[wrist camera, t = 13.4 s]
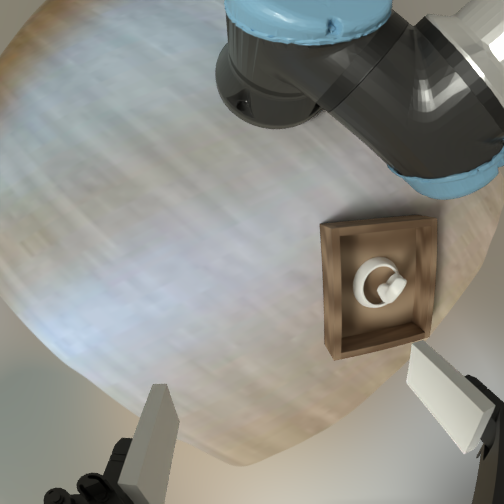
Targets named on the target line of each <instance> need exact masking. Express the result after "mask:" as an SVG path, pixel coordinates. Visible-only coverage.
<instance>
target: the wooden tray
mask: <svg viewBox="0 0 504 504" xmlns="http://www.w3.org/2000/svg"><path fill="white" fill-rule="evenodd" d="M320 236H321V252H322V271H323V295H324V340H325V346H326V347H327V349H328V351H329V353H330V354H331V356H332V358H333V360H334V361H335V360H340V359H345V358H349V357H354V356H358V355H363V354H367V353H371V352H376V351H380V350H384V349H388V348H392V347H395V346H399V345H403V344H406V343H410V342H414V341H417V340H420V339H424V338H427V337H430V330H431V322H432V314H433V305H434V294H435V282H436V265H437V218H433V217H428V216H422V215H409V216H398V217H387V218H376V219H365V220H355V221H344V222H334V223H324V224H320ZM374 257H385V258H388V259H389V260H391V261H392V262H393V263H394V264H395V266H396V267H397V269H398V272H399V275H401V276H402V277H403V278H404V279H406V280H407V283H406V285H405V287H404V289H403V291H402V292H401V293H400V295H399V296H398V297H397V298H396V299H395V300H394V301H393V302H392V303H388V304H387V305H385V306H382V307H378V308H369V307H365V306H363V305H361V304H360V303H359V302H358V301H357V299H356V298H355V295H354V292H353V280H354V277H355V274H356V272H357V270H358V269H359V268H360V266H361V265H362V264H363V263H365V262H366V261H367V260H369V259H371V258H374ZM393 274H395V272H394V271H393V270H392V269H391V268H389V267H386V266H382V267H378V268H376V269H374V270H373V271H371V272H370V273H369V275H368V276H367V278H366V279H365V282H364V287H363V291H364V295H365V298H366V299H367V300H368V301H369V302H370V303H372V304H380V303H382V302H383V301H382V300H381V298H380V296H379V294H378V292H377V289H378V287H379V285H381V284H382V283H386V282H387V280H388V279H389V278H390V277H391V276H392V275H393Z"/></svg>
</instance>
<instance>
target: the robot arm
mask: <svg viewBox="0 0 504 504" xmlns="http://www.w3.org/2000/svg"><path fill="white" fill-rule="evenodd" d="M224 5H225V10H226V21H227V36H228V43H227V44H226V45H225V46H224V48H223V49H222V51H221V52H220V54H219V57H218V60H217V63H216V70H215V76H216V83H217V88H218V92H219V94H220V97H221V98H222V100H223V102H224V103H225V105H226V106H227V107H228V108H229V110H230V111H231V112H232V113H234V114H235V115H236V116H237V117H239V118H240V119H242V120H244V121H245V122H247V123H250V124H252V125H255V126H258V127H262V128H268V129H285V128H290V127H294V126H297V125H299V124H302V123H304V122H305V121H307V120H309V119H310V118H311V117H313V116H314V115H315V114H316V113H317V112H318V111H319V110H320V109H321V108H323V109H325V110H326V111H327V112H328V113H329V114H330V115H331V116H333V117H334V118H335V119H336V120H338V121H339V122H340V123H341V124H343V125H344V126H345V127H346V128H347V129H349V130H350V131H351V132H352V133H353V134H354V135H356V136H357V137H358V138H359V139H360V140H361V141H362V142H364V143H365V144H366V145H367V146H368V147H369V148H370V149H371V150H372V151H374V152H375V153H376V154H377V155H378V156H379V157H380V158H381V159H382V160H383V161H384V162H385V163H386V164H387V166H388V168H389V169H390V170H391V171H392V172H393V173H395V174H396V175H397V176H399V177H401V178H403V179H404V180H405V181H406V182H407V183H408V184H409V185H410V186H411V187H412V188H414V189H415V190H416V191H417V192H419V193H420V194H422V195H425V196H428V197H430V198H434V199H442V200H448V199H455V198H460V197H463V196H466V195H468V194H471V193H473V192H475V191H477V190H479V189H481V188H482V187H484V186H485V185H487V184H488V183H489V182H490V181H492V180H493V179H494V178H495V177H496V176H497V174H498V167H501V166H504V0H471V1H469V2H468V3H467V4H466V5H465V6H464V7H463V8H461V9H460V10H459V11H458V12H457V13H456V14H455V15H452V16H443V15H433V14H427V15H426V16H424V17H423V19H421V20H420V21H419V22H418V23H417V24H416V25H415V26H412V25H411V24H409V23H408V22H407V21H406V20H404V19H403V18H402V17H401V16H400V15H399V14H397V13H396V12H395V11H394V10H393V9H392V0H225V2H224ZM406 383H407V384H408V385H409V387H410V388H411V389H412V390H413V392H414V393H415V394H416V395H417V396H418V398H419V399H420V400H421V401H422V402H423V404H424V405H425V406H426V407H427V409H428V410H429V411H430V412H431V414H432V415H433V416H434V417H435V418H436V420H437V421H438V422H439V423H440V425H441V426H442V427H443V428H444V430H445V431H446V432H447V433H448V435H449V436H450V437H451V438H452V440H453V441H454V442H455V443H456V445H457V446H458V447H459V449H460V450H461V451H462V452H463V454H466V453H468V452H469V451H471V450H473V449H474V448H476V447H477V445H478V443H479V441H480V439H481V440H482V442H483V445H482V447H481V449H480V451H479V453H478V454H477V457H476V458H478V457H479V456H480V454H481V456H480V464H479V470H478V476H477V482H476V487H475V492H474V497H473V502H472V504H504V402H503V401H501V400H500V399H499V398H498V397H497V396H496V395H495V394H494V393H493V392H491V391H490V390H489V389H487V387H486V386H485V385H483V383H481V382H480V381H479V380H478V379H477V378H475V377H472V376H470V375H466V376H463V375H462V374H461V373H460V372H459V371H457V370H456V369H455V368H454V367H453V366H452V365H450V363H448V362H447V361H446V360H445V359H444V358H443V357H442V356H441V355H439V354H438V353H437V352H436V351H435V350H434V349H433V348H431V347H430V346H429V345H428V344H427V343H426V342H424V341H423V340H422V341H419V342H416V343H412V348H411V355H410V362H409V369H408V375H407V381H406ZM179 423H180V421H179V418H178V416H177V413H176V410H175V407H174V404H173V401H172V398H171V395H170V392H169V389H168V386H167V384H153V385H152V388H151V390H150V393H149V396H148V398H147V401H146V404H145V406H144V409H143V412H142V414H141V417H140V420H139V423H138V425H137V428H136V431H135V434H134V437H133V438H121V439H120V440H119V441H118V442H117V443H116V444H115V446H114V449H113V451H112V455H111V456H110V459H109V461H108V464H107V467H106V469H105V472H104V474H103V475H100V474H98V473H89V474H86V475H84V476H82V477H81V478H80V479H79V480H78V482H77V490H78V492H79V493H80V494H74V495H70V494H69V493H68V492H67V491H66V490H64V489H62V488H53V489H50V490H49V491H48V492H47V493H46V494H45V496H44V504H164V502H165V496H166V491H167V485H168V480H169V474H170V469H171V463H172V458H173V452H174V448H175V442H176V438H177V433H178V428H179Z"/></svg>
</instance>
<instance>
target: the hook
mask: <svg viewBox="0 0 504 504" xmlns="http://www.w3.org/2000/svg"><path fill="white" fill-rule="evenodd" d="M382 266H386V267H389V268H391V269H392V270H393V271H394V272H395V274H393V275H392V276H391V277H390V278H389V279H388V280H387V282H386V283H382V284H381V285H379V287H378V289H377V292H378V294H379V296H380V298H381V300H382V301H383V302H382V303H380V304H372V303H370V302H369V301H368V300H367V299H366V298H365V295H364V291H363V287H364V282H365V279H366V278H367V276H368V275H369V273H370V272H371V271H373V270H374V269H376V268H378V267H382ZM406 283H407V280H406V279H404V278H403V277H402V276H401V275H399V272H398V269H397V267H396V266H395V264H394V263H393V262H392V261H391V260H389V259H388V258H385V257H374V258H371V259H369V260H367V261H366V262H365V263H363V264H362V265H361V266H360V268H359V269H358V270H357V272H356V274H355V277H354V280H353V292H354V295H355V298H356V299H357V301H358V302H359V303H360V304H361V305H363V306H365V307H369V308H378V307H382V306H385V305H387V304H388V303H392V302H393V301H394V300H395V299H396V298H397V297H398V296H399V295H400V293H401V292H402V291H403V289H404V287H405V285H406Z"/></svg>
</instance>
